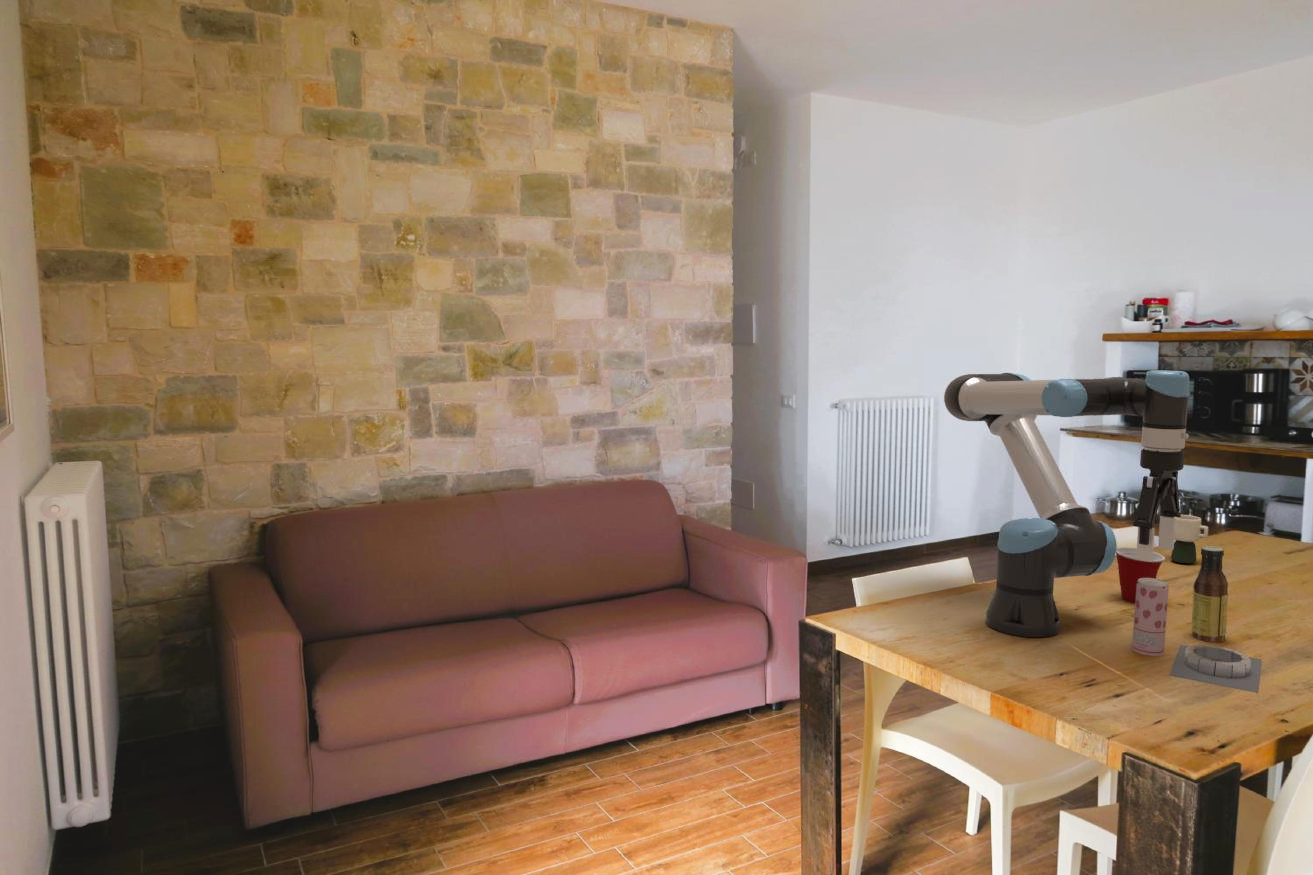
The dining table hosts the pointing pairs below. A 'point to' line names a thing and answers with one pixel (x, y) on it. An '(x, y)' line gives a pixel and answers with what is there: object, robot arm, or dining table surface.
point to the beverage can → (1150, 616)
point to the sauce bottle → (1210, 597)
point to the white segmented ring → (1204, 661)
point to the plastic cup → (1134, 570)
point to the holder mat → (1240, 683)
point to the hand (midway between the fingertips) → (1155, 554)
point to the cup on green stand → (1187, 538)
